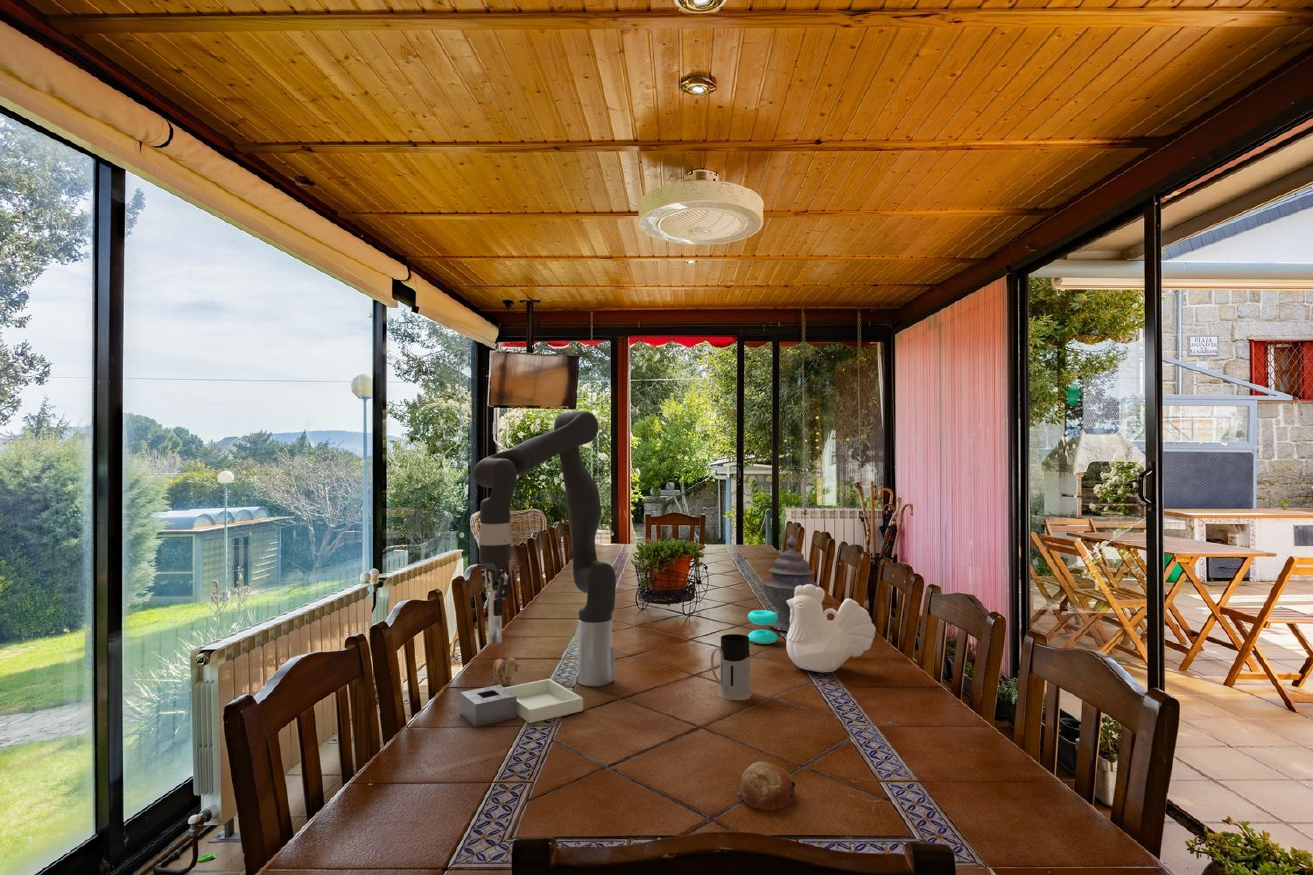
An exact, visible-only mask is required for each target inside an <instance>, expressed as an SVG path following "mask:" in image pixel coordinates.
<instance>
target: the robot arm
mask: <svg viewBox="0 0 1313 875" xmlns="http://www.w3.org/2000/svg"><path fill="white" fill-rule="evenodd" d="M598 433H599V423H598V419H597V417H596V415H594V414H593V413H592V412H589V411H586V410H576V411H567V412H562V413H560V414H558V415H557V416H556V417H555V420H554V424H553V431H549V432H547V433H544V434H541V435H537V436H534V437H531V438H529V439H526V440H525V441H523V442H521V443H519V444H517V445H515V446H512V448H510V449H507V450H504V451H500V452H497V453H494V454H491V455H489V456H487V457H484V458H483V459H481V460H479V462H478V463H477V464H476V466H474V469H473V478H474V481H475V482H476V484H478V485H479V486H481V487H483V488H491V491H490V492H491V493H490V496H489V497H487V498H485V499H482V500H481V501H480V507H479V508H480V510H479V514H480V515H479V516H480V517H479V532H478V561H479V563H482V564H485V565H484V568H482V569H480V572H479V573H480V580H481V585H482V593H483V594H485V597H486V598H487V613H488V614H489V583H490V588H491V590H492V591H493V615H494V616H501V617H502V616H503V614H504V600H505V599H506V598H508V596H509V591H510V586H511V581H512V576H511V574H510V575H509V574H508V575H507V569H506V563H509V562H511V560H512V528H511V503H512V501H513V496H514V493H515V489H516V484H517V478H518V475H523V474H525V473H527V472H529V471H531V470H533V469H535V468H536V467H538V466H539V465H541V464H543V463H544V462H547V461H549V460H550V459H552V458H554V457H556V456H559V460H560V464H561V465H560V466H561V470H562V478H563V484H564V490H565V500H566V501H565V502H566V509H567V514H568V521H569V530H570V537H571V547H572V574H573V582H574V584H575V586H576V588H577V589H578V590H579V591H581V592H583V593H586V594H587V595H586V596H587V597H586V604H585V606H581V608H579V610H578V645H577V646H578V652H577V653H578V654H577V655H578V656H577V658H578V660H577V661H578V662H577V668H578V669H577V683H578V684H580V685H582V686H585V687H602V686H606V685H609V684H610V683H611V682H614V681H615V661H616V660H615V656H616V655H615V652H616V651H615V648H616V647H615V646H614V645H612V642H613V638H612V635H613V632H612V631H613V630H612V629H613V626H612V624H613V620H612V619H613V612H614V609H615V606H616V589H617V576H616V572H615V570H614V567H613V566H612V565H611V564H609V563H607V562H605V561H600V560H598V557H597V550H596V536H597V531H598V528H599V526H600V522H601V516H602V506H601V500H600V497H601V496H600V491H599V488H598V486H597V484H596V481H595V480H594V479H593V477H592V476H591V474H590V473H589V471H588V470H587V468H586V467H585V465H584V463H583V460H582V456H581V451H580V446H583V445H587V444H590V443H591V442H593V441H594V440H595V439H596V437H597V435H598ZM495 585H498V587H495ZM496 591H497V592H496Z"/></svg>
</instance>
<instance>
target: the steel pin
mask: <svg viewBox="0 0 1313 875" xmlns="http://www.w3.org/2000/svg"><path fill="white" fill-rule="evenodd" d="M495 587H498V585H495ZM496 592H497V591H496ZM501 643H502V616H494V615H493V591H492V590H491V588H490V583H489V613H488V644H501Z"/></svg>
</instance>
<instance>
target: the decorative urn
mask: <svg viewBox="0 0 1313 875" xmlns="http://www.w3.org/2000/svg"><path fill="white" fill-rule="evenodd" d="M785 543H786V546H787V547H789V548H788V549H789V550H784V551H783V552H781V553H780V554H779V557H778V558H776V559H775V560H773V567H771V568H769V569H768V570H767V571H768V572H769V573H771V578H767V579H765V580H763V582H762V584H763V585H762V586H763V589H764V592H765V594H766V595H765V596H766V597H767V598H768V600H769V602H770V603H771V604H772V606H774V607H776V608H777V609H778V610H779V611H778V613H777V616H778V619H777V621H776V622H775V623H773V624H770V625H771V626H772V627H774V628H780V629H786V630H789V628H790V625H791V624H790V609H791V608H790V607H789V605H788V604H787V602H786V601H787V600H789V599H792V598H794V596H795V588H796V587H797V586H799V585H802V586H804V585H807V584H812V585H814V586H816V587H820V585H819V584H818V583H817V582H815V581H812V576H813V575H814V574H815V572H814V570H811V569H810V567H811V566H810V563H809V561H808V560H806V559H805V558H804V554H803V553H802V552H799V551H796V550H795V548H797V546H798V545H799V542H798V540H797V538H796V536H795V535H794V534H793V533H791V534H790V535H789V538H786V541H785Z"/></svg>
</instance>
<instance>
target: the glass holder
mask: <svg viewBox="0 0 1313 875" xmlns="http://www.w3.org/2000/svg"><path fill="white" fill-rule="evenodd" d="M718 650H719V653H720V657H719V678H718V676H717V673H716V670H715V664H714V662H715V661H714V660H715V659H714V656H715V654H716V652H717V651H718ZM710 667H711V672H712V675H713V677H714V679H715V680H716V681H717V683H719V692H718V693H719V695H718V697H719V696H721V697H723V698H726V699H730V700H742V699H747V698H749V697H750V696H752V697H753V694H752V693H751V651H750V641H749V637H748V635H744V634H738V633H729V634H728V633H727V634H724V635H721V636H720V647H715V648H714V649H713V650H712V652H711V655H710ZM730 700H729V701H730Z"/></svg>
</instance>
